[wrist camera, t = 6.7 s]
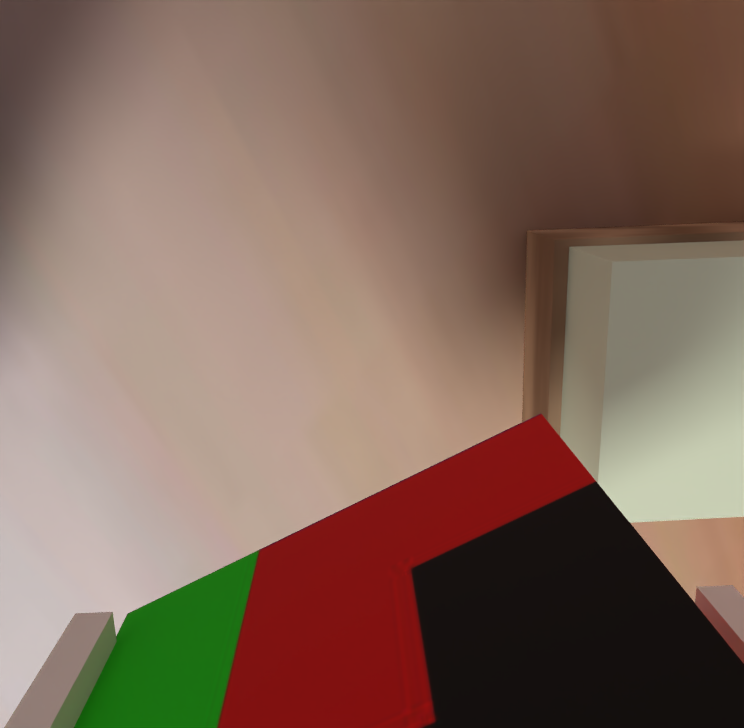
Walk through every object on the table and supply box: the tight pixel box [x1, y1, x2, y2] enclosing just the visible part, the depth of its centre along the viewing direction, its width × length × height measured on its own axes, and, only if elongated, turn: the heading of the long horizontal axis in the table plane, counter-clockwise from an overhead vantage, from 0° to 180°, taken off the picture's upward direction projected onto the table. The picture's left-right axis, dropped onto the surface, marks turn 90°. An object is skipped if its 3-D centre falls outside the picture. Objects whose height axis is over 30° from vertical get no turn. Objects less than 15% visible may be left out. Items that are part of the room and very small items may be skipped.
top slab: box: [560, 240, 744, 523], centre depth 30 cm, size 11×11×5 cm
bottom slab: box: [522, 222, 744, 436], centre depth 35 cm, size 12×12×5 cm
